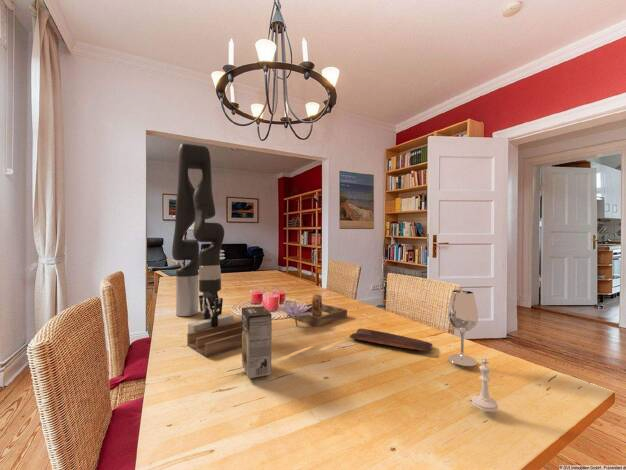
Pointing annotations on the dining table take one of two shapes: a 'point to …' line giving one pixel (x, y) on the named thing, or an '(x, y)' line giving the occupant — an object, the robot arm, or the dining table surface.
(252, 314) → the coffee box
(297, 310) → the water lily
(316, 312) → the stone disc
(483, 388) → the chess piece
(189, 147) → the robot arm
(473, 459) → the dining table surface
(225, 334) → the rack
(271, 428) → the dining table surface
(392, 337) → the wooden tablet
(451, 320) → the wineglass
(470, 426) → the dining table surface
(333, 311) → the square wooden tray
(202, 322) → the cream rectangular block
